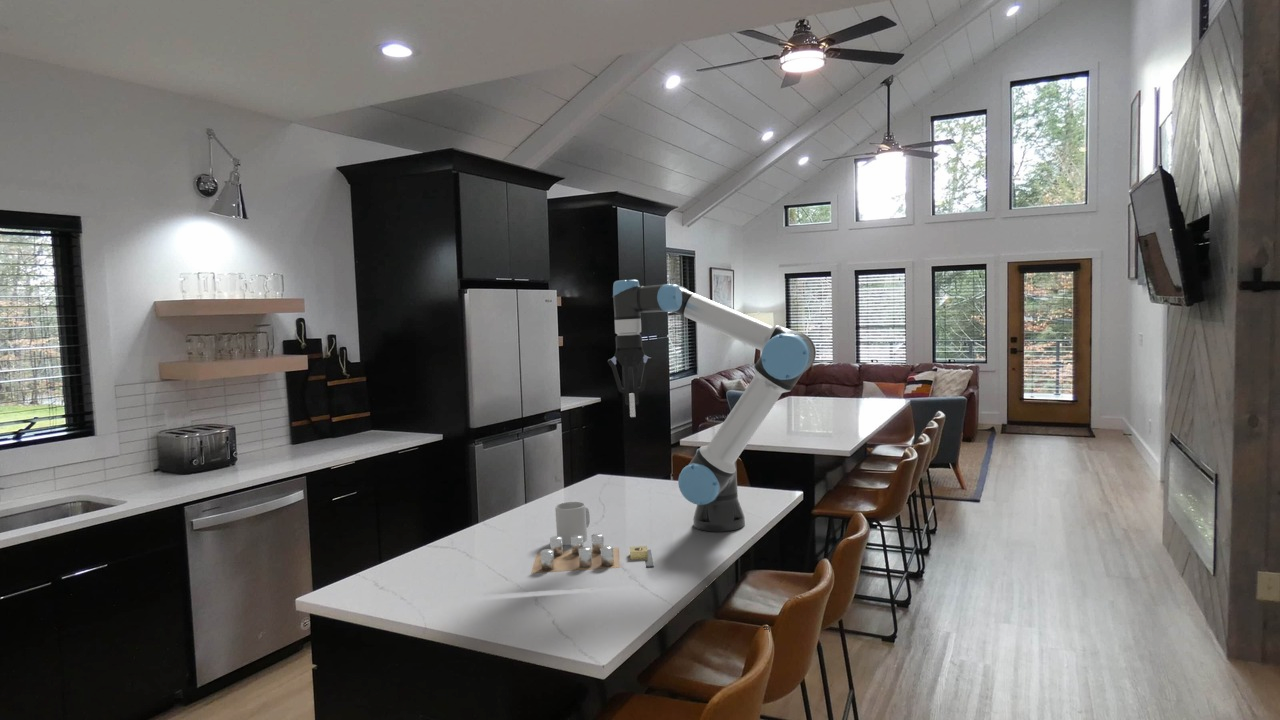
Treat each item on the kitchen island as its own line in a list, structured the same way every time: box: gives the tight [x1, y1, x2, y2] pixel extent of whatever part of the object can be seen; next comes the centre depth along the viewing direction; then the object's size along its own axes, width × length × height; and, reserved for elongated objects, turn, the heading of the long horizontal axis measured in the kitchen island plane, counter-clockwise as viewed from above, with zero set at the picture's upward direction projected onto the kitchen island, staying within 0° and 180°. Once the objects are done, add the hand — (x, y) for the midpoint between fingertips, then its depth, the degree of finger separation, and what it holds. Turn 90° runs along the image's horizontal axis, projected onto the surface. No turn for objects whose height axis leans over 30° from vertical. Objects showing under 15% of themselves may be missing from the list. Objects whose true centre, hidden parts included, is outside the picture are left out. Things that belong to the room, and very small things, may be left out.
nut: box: [629, 545, 648, 562], centre depth 195 cm, size 4×4×3 cm
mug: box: [555, 501, 591, 546], centre depth 213 cm, size 12×8×11 cm
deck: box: [530, 547, 621, 574], centre depth 195 cm, size 22×16×1 cm
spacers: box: [540, 533, 614, 571], centre depth 195 cm, size 18×14×4 cm
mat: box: [644, 549, 655, 568], centre depth 195 cm, size 8×13×1 cm, turn 2°
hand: (632, 416), depth 216 cm, fingers closed
